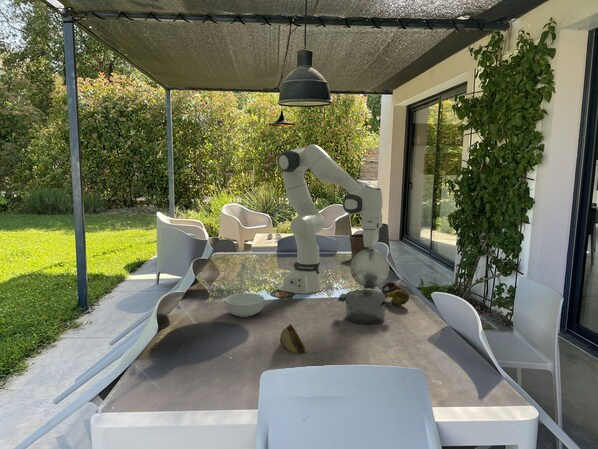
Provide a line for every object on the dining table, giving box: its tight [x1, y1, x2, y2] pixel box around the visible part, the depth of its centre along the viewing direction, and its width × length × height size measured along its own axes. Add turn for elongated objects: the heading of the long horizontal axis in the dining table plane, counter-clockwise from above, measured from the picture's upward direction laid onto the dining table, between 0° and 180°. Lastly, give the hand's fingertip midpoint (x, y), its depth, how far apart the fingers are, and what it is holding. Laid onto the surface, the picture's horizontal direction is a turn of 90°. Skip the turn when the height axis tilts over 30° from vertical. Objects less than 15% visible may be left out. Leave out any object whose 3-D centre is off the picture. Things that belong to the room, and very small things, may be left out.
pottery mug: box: [381, 281, 402, 295], centre depth 216 cm, size 12×10×8 cm
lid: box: [349, 249, 390, 290], centre depth 193 cm, size 17×17×3 cm
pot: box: [338, 288, 392, 326], centre depth 185 cm, size 21×17×10 cm
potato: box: [385, 289, 410, 306], centre depth 201 cm, size 8×13×8 cm, turn 10°
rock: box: [279, 323, 307, 354], centre depth 155 cm, size 11×9×10 cm
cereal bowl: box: [224, 292, 265, 318], centre depth 191 cm, size 17×17×7 cm
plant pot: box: [349, 233, 369, 260], centre depth 299 cm, size 16×16×16 cm
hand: (371, 254), depth 196 cm, fingers closed
